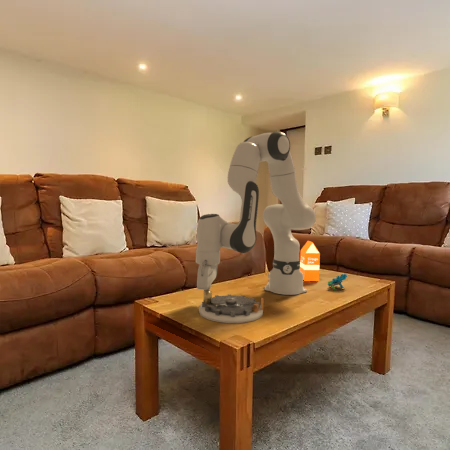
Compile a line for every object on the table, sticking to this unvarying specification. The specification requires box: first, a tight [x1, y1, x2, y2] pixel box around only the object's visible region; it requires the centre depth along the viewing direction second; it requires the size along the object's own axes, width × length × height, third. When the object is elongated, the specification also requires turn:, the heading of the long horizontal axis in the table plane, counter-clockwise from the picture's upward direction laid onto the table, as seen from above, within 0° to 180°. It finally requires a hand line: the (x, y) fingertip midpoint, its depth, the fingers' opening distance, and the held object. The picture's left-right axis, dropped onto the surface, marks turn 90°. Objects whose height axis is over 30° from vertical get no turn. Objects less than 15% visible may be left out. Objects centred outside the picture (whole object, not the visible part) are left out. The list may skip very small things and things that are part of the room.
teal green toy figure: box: [327, 273, 348, 290], centre depth 155 cm, size 11×6×10 cm
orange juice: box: [299, 240, 321, 282], centre depth 172 cm, size 8×9×20 cm
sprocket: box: [201, 290, 261, 317], centre depth 119 cm, size 21×21×6 cm
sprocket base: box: [198, 297, 265, 324], centre depth 119 cm, size 23×23×6 cm
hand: (206, 295), depth 122 cm, fingers closed
